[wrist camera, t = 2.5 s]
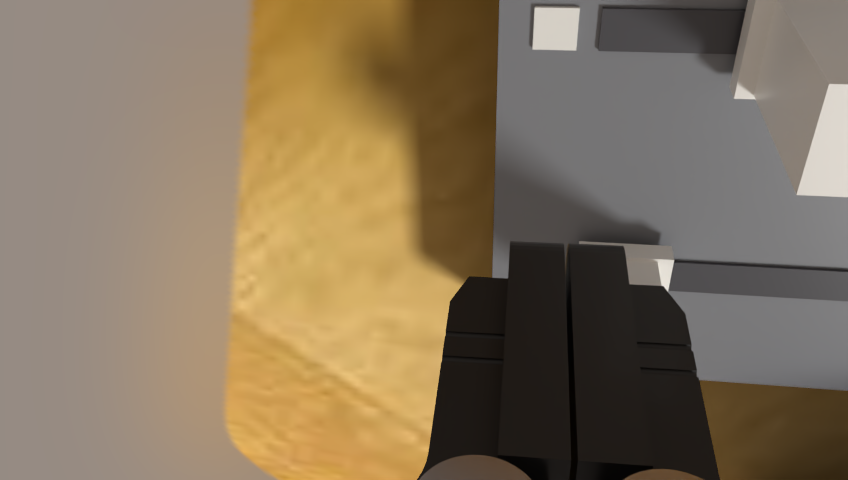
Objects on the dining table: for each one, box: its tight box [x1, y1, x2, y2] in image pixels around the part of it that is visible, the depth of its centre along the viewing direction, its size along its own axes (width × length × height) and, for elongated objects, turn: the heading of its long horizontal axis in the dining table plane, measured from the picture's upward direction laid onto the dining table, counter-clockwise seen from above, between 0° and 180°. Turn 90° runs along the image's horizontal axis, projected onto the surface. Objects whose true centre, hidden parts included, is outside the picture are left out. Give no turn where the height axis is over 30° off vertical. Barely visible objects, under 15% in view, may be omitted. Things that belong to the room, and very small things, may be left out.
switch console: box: [492, 0, 848, 391], centre depth 19 cm, size 13×22×3 cm, turn 2°
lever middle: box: [729, 0, 848, 197], centre depth 16 cm, size 2×2×5 cm
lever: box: [579, 241, 674, 291], centre depth 20 cm, size 2×2×5 cm
